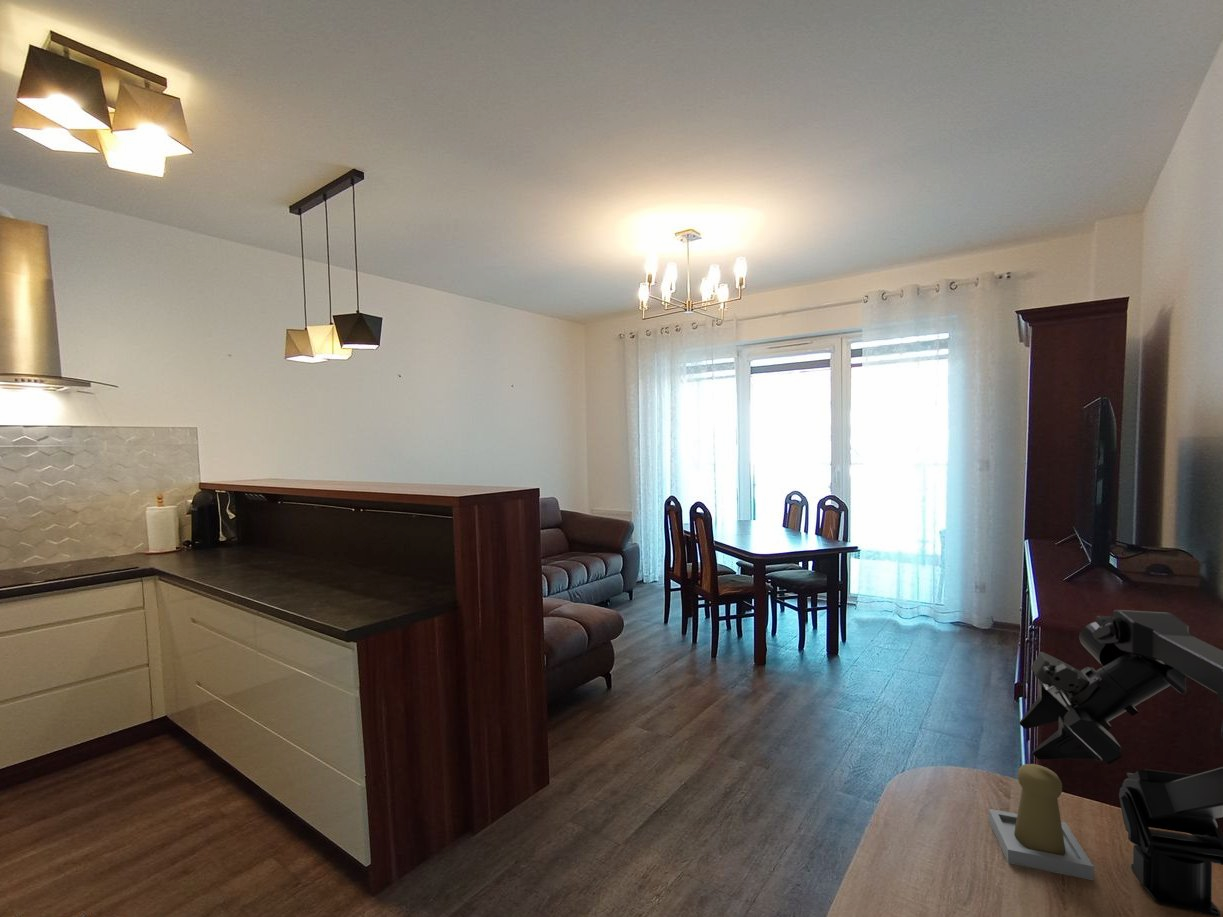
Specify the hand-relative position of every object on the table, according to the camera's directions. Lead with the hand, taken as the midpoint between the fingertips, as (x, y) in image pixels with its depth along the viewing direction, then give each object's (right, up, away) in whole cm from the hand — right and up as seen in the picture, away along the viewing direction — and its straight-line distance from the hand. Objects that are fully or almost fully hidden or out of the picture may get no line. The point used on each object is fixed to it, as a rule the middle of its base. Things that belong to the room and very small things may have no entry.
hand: (1028, 740), depth 86 cm
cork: (-2, -13, -5) cm, 14 cm away
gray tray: (-2, -14, -5) cm, 15 cm away
